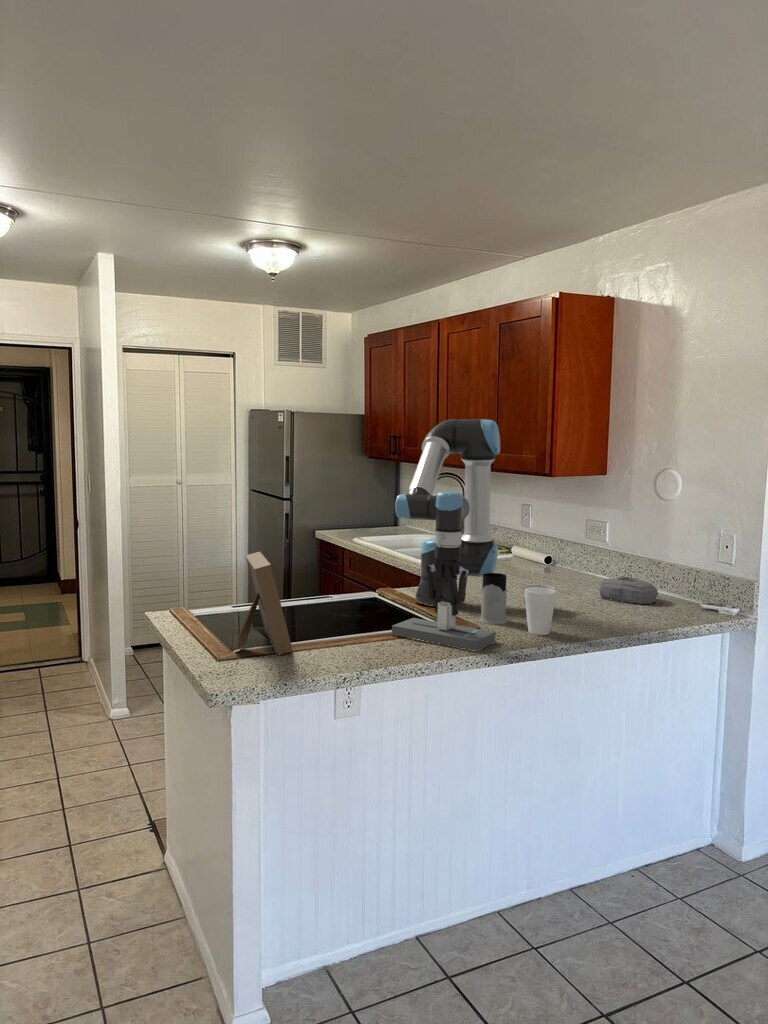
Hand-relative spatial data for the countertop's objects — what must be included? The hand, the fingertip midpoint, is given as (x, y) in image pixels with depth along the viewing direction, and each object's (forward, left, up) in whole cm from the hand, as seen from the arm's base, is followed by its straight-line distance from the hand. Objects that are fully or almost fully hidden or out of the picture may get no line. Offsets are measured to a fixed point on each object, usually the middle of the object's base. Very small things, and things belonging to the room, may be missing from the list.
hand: (446, 624), depth 225 cm
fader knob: (0, 0, -1) cm, 1 cm away
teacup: (+7, +53, -5) cm, 54 cm away
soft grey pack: (+28, +87, -5) cm, 92 cm away
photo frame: (-39, -37, -5) cm, 54 cm away
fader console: (-1, 0, -4) cm, 4 cm away
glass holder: (+1, +31, -5) cm, 31 cm away
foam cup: (+19, +24, -5) cm, 31 cm away
